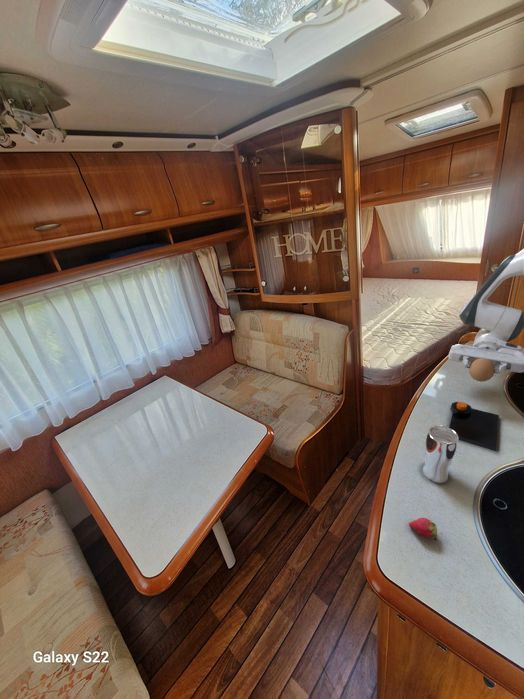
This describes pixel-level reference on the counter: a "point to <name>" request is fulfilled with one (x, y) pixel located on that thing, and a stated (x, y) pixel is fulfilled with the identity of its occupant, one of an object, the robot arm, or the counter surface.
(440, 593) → the counter surface
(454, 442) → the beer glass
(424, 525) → the fruit
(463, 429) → the scale
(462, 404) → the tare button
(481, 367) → the egg
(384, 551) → the counter surface
